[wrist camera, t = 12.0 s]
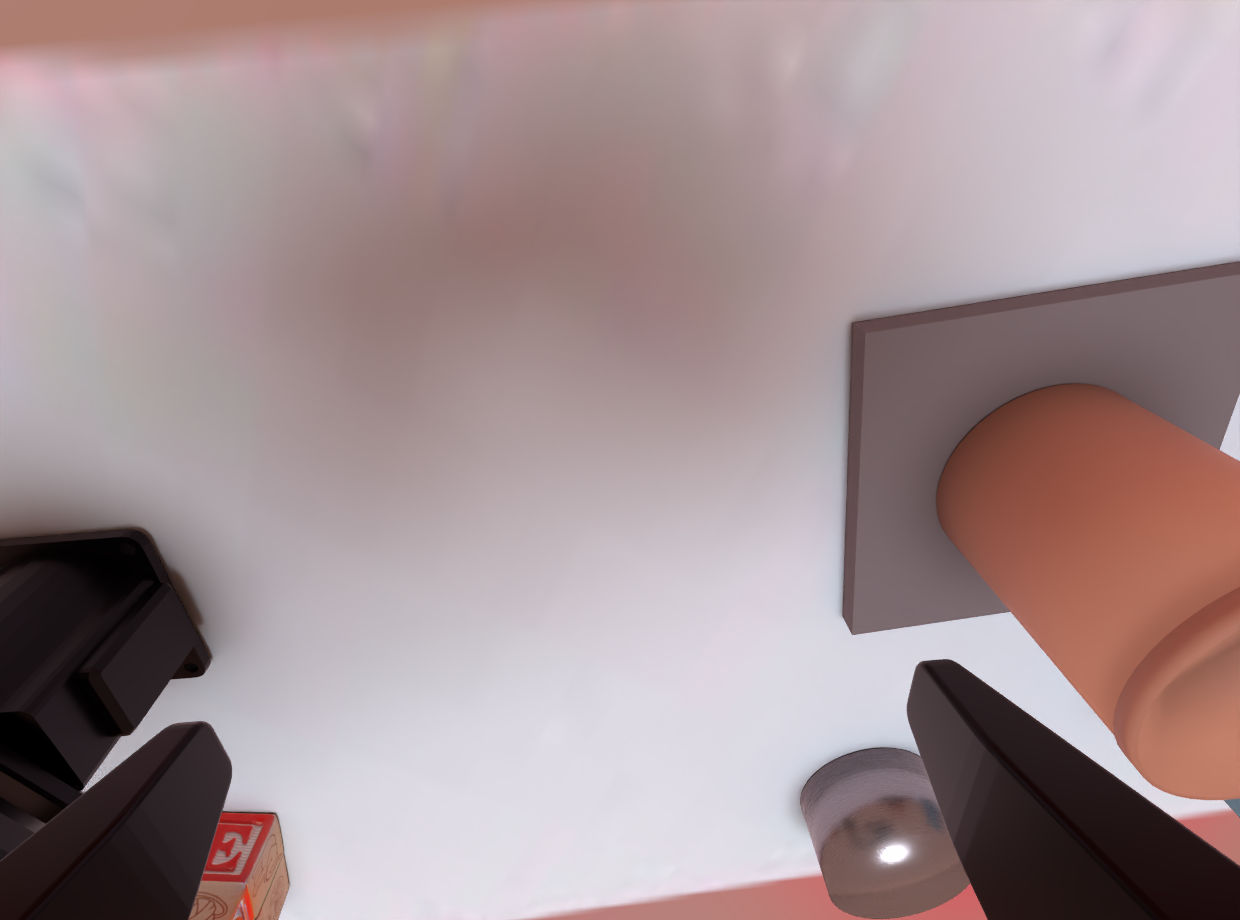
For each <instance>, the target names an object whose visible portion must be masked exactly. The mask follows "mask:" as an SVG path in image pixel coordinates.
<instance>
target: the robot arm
mask: <svg viewBox="0 0 1240 920" xmlns="http://www.w3.org/2000/svg"><path fill="white" fill-rule="evenodd" d="M128 543H129V544H131V545H133V546H134V547H135V548H133V547H131V546H130V545H129V544H128ZM210 663H211V661H210V658H209V656H208V654H207V652H206V650H205V648H204V646H203V644H202V642H201V640H200V638H199V636H198V634H197V632H196V630H195V628H194V626H193V624H192V622H191V620H190V619H189V617H188V615H187V613H186V611H185V609H184V607H183V605H182V603H181V601H180V599H179V597H178V595H177V593H176V591H175V589H174V587H173V585H172V583H171V581H170V579H169V577H168V575H167V574H166V572H165V570H164V568H163V566H162V564H161V562H160V560H159V558H158V556H157V554H156V552H155V550H154V548H153V546H152V544H151V542H150V540H149V539H148V538H147V537H146V536H145V535H144V534H142V533H141V532H138V531H136V530H117V531H105V532H92V533H79V534H67V535H54V536H41V537H28V538H16V539H3V540H0V920H188V919H189V917H190V914H191V911H192V908H193V905H194V902H195V899H196V896H197V893H198V890H199V887H200V884H201V880H202V877H203V874H204V870H205V867H206V864H207V860H208V857H209V854H210V850H211V847H212V843H213V840H214V837H215V833H216V830H217V827H218V823H219V820H220V817H221V813H222V810H223V807H224V803H225V800H226V797H227V793H228V790H229V787H230V783H231V778H232V765H231V761H230V758H229V757H228V755H227V753H226V751H225V749H224V747H223V746H222V744H221V742H220V740H219V738H218V737H217V735H216V733H215V731H214V729H213V728H212V726H211V725H210V724H208V723H207V722H204V721H197V722H185V723H176V724H172V725H170V726H168V727H166V728H165V729H163V730H162V731H161V732H160V733H158V734H157V735H156V736H155V737H153V738H152V739H151V740H150V741H148V742H147V743H146V744H145V745H143V746H142V747H141V748H140V749H138V750H137V751H136V752H135V753H133V754H132V755H131V756H130V757H128V758H127V759H126V760H125V761H123V762H122V763H121V764H120V765H118V766H117V767H116V768H115V769H114V770H112V771H111V772H110V773H109V774H107V775H106V776H105V777H104V778H102V779H101V780H100V781H99V782H97V783H96V784H95V785H94V786H92V787H91V788H90V789H89V790H87V791H86V792H85V793H83V792H82V791H81V790H83V788H84V787H85V786H86V784H87V783H88V782H89V780H90V779H91V777H92V776H93V775H94V773H95V772H96V770H97V769H98V768H99V766H100V765H101V763H102V762H103V761H104V759H105V758H106V756H107V755H108V754H109V752H110V751H111V750H112V748H113V747H114V745H115V744H116V743H117V741H118V740H119V738H120V737H121V736H127V735H130V734H132V733H133V732H134V730H135V729H136V728H137V726H138V725H139V724H140V722H141V721H142V719H143V718H144V716H145V715H146V714H147V712H148V711H149V709H150V708H151V707H152V705H153V704H154V702H155V701H156V699H157V698H158V697H159V695H160V694H161V692H162V691H163V689H164V688H165V687H166V685H167V684H168V682H169V681H170V679H181V678H193V677H199V676H202V675H203V674H204V673H205V672H206V670H207V669H208V667H209V666H210ZM907 716H908V721H909V724H910V727H911V730H912V733H913V736H914V738H915V741H916V744H917V747H918V750H919V752H920V755H921V758H922V761H923V764H924V766H925V769H926V772H927V775H928V778H929V780H930V783H931V786H932V789H933V792H934V794H935V797H936V800H937V803H938V806H939V808H940V811H941V814H942V817H943V820H944V823H945V825H946V828H947V830H948V833H949V836H950V838H951V841H952V843H953V846H954V848H955V850H956V853H957V855H958V857H959V859H960V862H961V864H962V866H963V868H964V870H965V872H966V875H967V877H968V879H969V881H970V883H971V885H972V887H973V889H974V891H975V894H976V896H977V898H978V900H979V902H980V904H981V906H982V908H983V910H984V912H985V915H986V917H987V919H988V920H1240V866H1239V865H1238V864H1236V863H1235V862H1234V861H1232V860H1231V859H1230V858H1228V857H1227V856H1225V855H1224V854H1222V853H1221V852H1220V851H1218V850H1217V849H1216V848H1214V847H1213V846H1211V845H1210V844H1208V843H1207V842H1206V841H1204V840H1203V839H1201V838H1200V837H1199V836H1197V835H1196V834H1195V833H1193V832H1192V831H1191V830H1189V829H1188V828H1186V827H1185V826H1184V825H1182V824H1181V823H1179V822H1178V821H1177V820H1175V819H1174V818H1172V817H1171V816H1170V815H1168V814H1167V813H1165V812H1164V811H1163V810H1161V809H1160V808H1159V807H1157V806H1156V805H1154V804H1153V803H1152V802H1150V801H1149V800H1147V799H1146V798H1145V797H1143V796H1142V795H1140V794H1139V793H1138V792H1136V791H1135V790H1133V789H1132V788H1131V787H1129V786H1128V785H1127V784H1125V783H1124V782H1122V781H1121V780H1120V779H1118V778H1117V777H1115V776H1114V775H1113V774H1111V773H1110V772H1108V771H1107V770H1106V769H1104V768H1103V767H1101V766H1100V765H1099V764H1097V763H1096V762H1095V761H1093V760H1092V759H1090V758H1089V757H1088V756H1086V755H1085V754H1083V753H1082V752H1081V751H1079V750H1078V749H1076V748H1075V747H1074V746H1072V745H1071V744H1069V743H1068V742H1067V741H1065V740H1064V739H1063V738H1061V737H1060V736H1058V735H1057V734H1056V733H1054V732H1053V731H1051V730H1050V729H1049V728H1047V727H1046V726H1044V725H1043V724H1042V723H1040V722H1039V721H1037V720H1036V719H1035V718H1033V717H1032V716H1031V715H1029V714H1028V713H1026V712H1025V711H1024V710H1022V709H1021V708H1019V707H1018V706H1017V705H1015V704H1014V703H1012V702H1011V701H1010V700H1008V699H1007V698H1005V697H1004V696H1003V695H1001V694H1000V693H999V692H997V691H996V690H994V689H993V688H992V687H990V686H989V685H987V684H986V683H985V682H983V681H982V680H980V679H979V678H978V677H976V676H975V675H973V674H972V673H971V672H969V671H968V670H967V669H965V668H964V667H962V666H961V665H960V664H958V663H956V662H954V661H952V660H949V659H942V660H930V661H922V662H920V663H919V664H918V665H917V666H916V669H915V672H914V676H913V680H912V685H911V689H910V693H909V697H908V702H907Z"/></svg>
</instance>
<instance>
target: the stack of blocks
mask: <svg viewBox="0 0 1240 920" xmlns="http://www.w3.org/2000/svg"><path fill="white" fill-rule="evenodd" d="M288 890H289V884H288V876H287V871H286V865H285V860H284V855H283V844H282V838H281V834H280V828H279V824H278V820H277V817H276V815H274V814H252V813H221V817H220V820H219V823H218V827H217V830H216V833H215V837H214V840H213V843H212V847H211V850H210V854H209V857H208V860H207V864H206V867H205V870H204V874H203V877H202V880H201V884H200V887H199V890H198V893H197V896H196V899H195V902H194V905H193V908H192V911H191V914H190V917H189V919H188V920H278V918H279V915H280V913H281V910H282V907H283V904H284V902H285V899H286V896H287V893H288Z"/></svg>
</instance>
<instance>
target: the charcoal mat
mask: <svg viewBox="0 0 1240 920" xmlns="http://www.w3.org/2000/svg"><path fill="white" fill-rule="evenodd" d="M1063 384H1091V385H1096V386H1101V387H1104V388H1107V389H1109V390H1112V391H1114V392H1116V393H1118V394H1120V395H1121V396H1123V397H1125V398H1127V399H1129V400H1130V401H1132V402H1134V403H1136V404H1138V405H1139V406H1141V407H1143V408H1145V409H1147V410H1148V411H1150V412H1152V413H1154V414H1156V415H1157V416H1159V417H1161V418H1163V419H1165V420H1166V421H1168V422H1170V423H1172V424H1173V425H1175V426H1177V427H1179V428H1181V429H1182V430H1184V431H1186V432H1188V433H1190V434H1191V435H1193V436H1195V437H1197V438H1199V439H1200V440H1202V441H1204V442H1206V443H1208V444H1209V445H1211V446H1213V447H1215V448H1217V449H1218V450H1219V449H1220V447H1221V444H1222V441H1223V438H1224V435H1225V433H1226V430H1227V427H1228V424H1229V421H1230V419H1231V416H1232V413H1233V410H1234V407H1235V405H1236V402H1237V399H1238V396H1239V393H1240V262H1235V263H1229V264H1222V265H1216V266H1210V267H1203V268H1197V269H1191V270H1184V271H1178V272H1172V273H1165V274H1159V275H1153V276H1146V277H1140V278H1134V279H1127V280H1121V281H1115V282H1108V283H1102V284H1096V285H1089V286H1083V287H1077V288H1070V289H1064V290H1058V291H1051V292H1045V293H1039V294H1033V295H1026V296H1020V297H1014V298H1007V299H1001V300H995V301H988V302H982V303H976V304H969V305H963V306H957V307H950V308H944V309H938V310H931V311H925V312H919V313H912V314H906V315H900V316H893V317H887V318H881V319H874V320H868V321H862V322H855V323H853V333H852V362H851V392H850V421H849V451H848V480H847V510H846V539H845V569H844V598H843V618H844V620H845V622H846V624H847V626H848V628H849V630H850V632H851V634H852V635H856V634H863V633H869V632H876V631H883V630H890V629H897V628H903V627H910V626H917V625H924V624H930V623H937V622H944V621H951V620H958V619H964V618H971V617H978V616H985V615H991V614H998V613H1005V612H1010V610H1009V609H1008V608H1007V607H1006V606H1005V604H1004V603H1003V602H1002V601H1001V600H1000V598H999V597H998V596H997V595H996V594H995V592H994V591H993V590H992V589H991V588H990V586H989V585H988V584H987V583H986V582H985V580H984V579H983V578H982V577H981V576H980V574H979V573H978V572H977V571H976V570H975V569H974V567H973V566H972V565H971V564H970V563H969V561H968V560H967V559H966V558H965V557H964V555H963V554H962V553H961V552H960V551H959V549H958V548H957V547H956V546H955V545H954V543H953V542H952V541H951V540H950V539H949V537H948V536H947V535H946V533H945V532H944V530H943V528H942V526H941V524H940V522H939V518H938V514H937V505H936V500H937V490H938V486H939V482H940V478H941V476H942V473H943V471H944V468H945V466H946V464H947V462H948V461H949V459H950V457H951V455H952V454H953V452H954V451H955V449H956V448H957V447H958V445H959V444H960V443H961V442H962V440H963V439H964V438H965V437H966V436H967V435H968V433H970V432H971V431H972V430H973V429H974V428H975V427H976V426H977V425H978V424H979V423H980V422H981V421H983V420H984V419H985V418H986V417H988V416H989V415H990V414H991V413H993V412H995V411H996V410H998V409H999V408H1001V407H1002V406H1004V405H1005V404H1007V403H1009V402H1011V401H1013V400H1015V399H1017V398H1019V397H1021V396H1024V395H1026V394H1028V393H1031V392H1034V391H1037V390H1040V389H1044V388H1047V387H1052V386H1057V385H1063Z"/></svg>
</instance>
